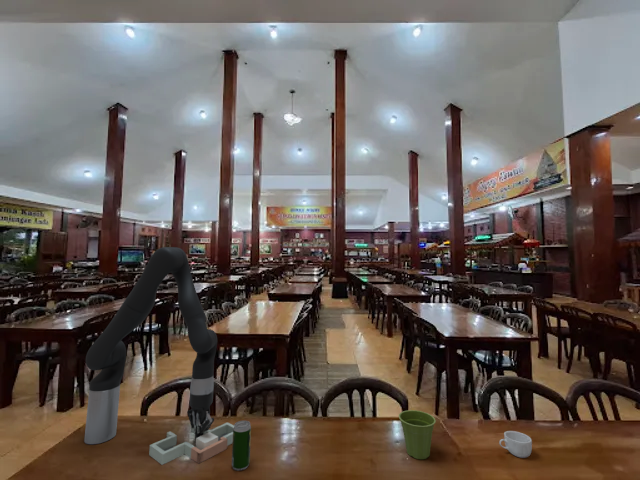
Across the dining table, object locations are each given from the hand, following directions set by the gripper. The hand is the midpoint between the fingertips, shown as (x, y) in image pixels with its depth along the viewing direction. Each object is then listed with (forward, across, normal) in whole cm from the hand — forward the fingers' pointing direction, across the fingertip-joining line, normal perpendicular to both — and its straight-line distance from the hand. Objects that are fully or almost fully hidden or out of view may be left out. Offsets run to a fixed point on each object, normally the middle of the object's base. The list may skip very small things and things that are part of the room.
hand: (198, 443), depth 103 cm
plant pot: (+1, +61, +42) cm, 74 cm away
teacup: (0, +87, +62) cm, 107 cm away
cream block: (+1, +5, 0) cm, 5 cm away
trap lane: (+1, -1, 0) cm, 2 cm away
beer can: (+1, +20, +2) cm, 20 cm away
